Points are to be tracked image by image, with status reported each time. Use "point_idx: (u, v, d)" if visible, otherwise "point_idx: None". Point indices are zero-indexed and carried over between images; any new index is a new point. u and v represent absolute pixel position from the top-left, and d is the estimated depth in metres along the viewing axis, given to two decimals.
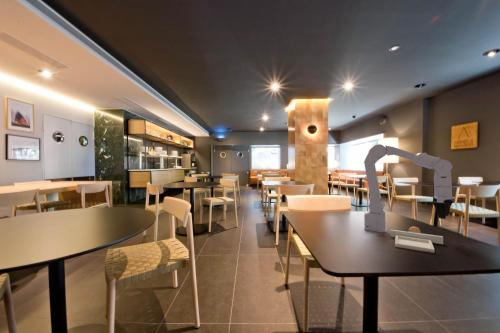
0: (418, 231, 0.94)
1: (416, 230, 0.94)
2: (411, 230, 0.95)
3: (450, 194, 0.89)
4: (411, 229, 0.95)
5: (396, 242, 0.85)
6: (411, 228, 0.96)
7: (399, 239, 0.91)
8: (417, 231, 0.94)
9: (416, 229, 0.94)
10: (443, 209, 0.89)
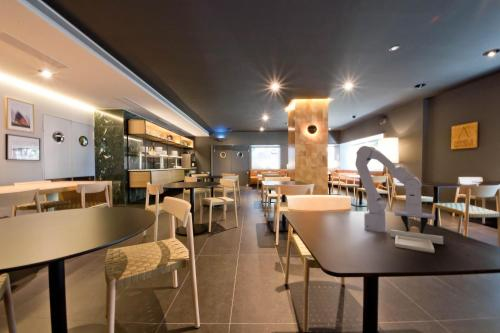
0: (418, 231, 0.94)
1: (416, 230, 0.94)
2: (411, 230, 0.95)
3: (411, 211, 0.95)
4: (411, 229, 0.95)
5: (396, 242, 0.85)
6: (411, 228, 0.96)
7: (399, 239, 0.91)
8: (417, 231, 0.94)
9: (416, 229, 0.94)
10: None
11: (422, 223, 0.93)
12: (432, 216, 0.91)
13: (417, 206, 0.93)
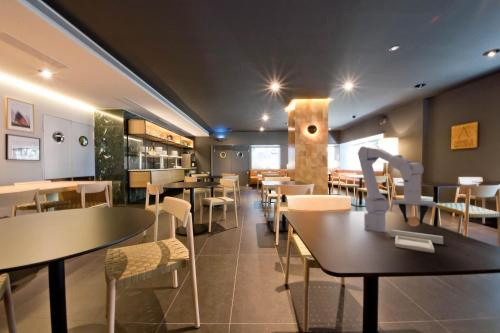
0: (417, 220, 0.86)
1: (415, 219, 0.86)
2: (410, 219, 0.87)
3: (409, 199, 0.87)
4: (410, 218, 0.87)
5: (396, 242, 0.85)
6: (410, 217, 0.88)
7: (399, 239, 0.91)
8: (416, 220, 0.86)
9: (415, 218, 0.86)
10: None
11: (422, 211, 0.84)
12: (432, 203, 0.83)
13: (416, 193, 0.85)
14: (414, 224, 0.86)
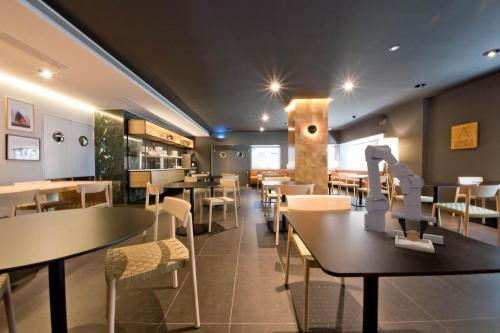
0: (417, 236, 0.83)
1: (415, 234, 0.83)
2: (409, 234, 0.85)
3: (409, 213, 0.84)
4: (409, 233, 0.85)
5: (396, 242, 0.85)
6: (409, 232, 0.85)
7: (399, 239, 0.91)
8: (416, 236, 0.83)
9: (415, 233, 0.84)
10: None
11: (422, 227, 0.82)
12: (433, 219, 0.81)
13: (416, 207, 0.83)
14: (414, 239, 0.84)
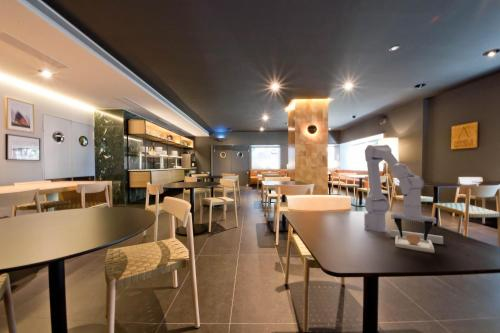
0: (417, 239, 0.83)
1: (415, 237, 0.83)
2: (409, 237, 0.85)
3: (409, 214, 0.84)
4: (409, 236, 0.85)
5: (396, 242, 0.85)
6: (409, 235, 0.85)
7: (399, 239, 0.91)
8: (416, 239, 0.83)
9: (415, 236, 0.84)
10: None
11: (426, 228, 0.81)
12: (433, 219, 0.81)
13: (416, 208, 0.83)
14: (414, 242, 0.84)
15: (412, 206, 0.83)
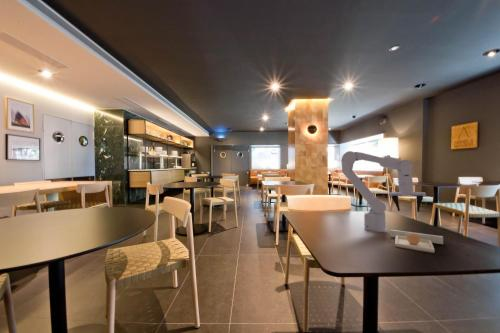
0: (417, 239, 0.83)
1: (415, 237, 0.83)
2: (409, 237, 0.85)
3: (403, 190, 1.02)
4: (409, 236, 0.85)
5: (396, 242, 0.85)
6: (409, 235, 0.85)
7: (399, 239, 0.91)
8: (416, 239, 0.83)
9: (415, 236, 0.84)
10: None
11: (418, 201, 0.98)
12: (423, 193, 0.98)
13: (408, 185, 1.00)
14: (414, 242, 0.84)
15: (405, 184, 1.01)
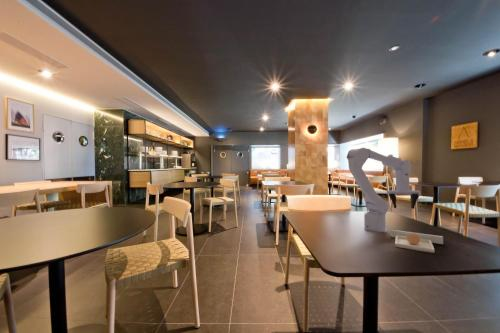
0: (417, 239, 0.83)
1: (415, 238, 0.83)
2: (409, 237, 0.85)
3: (401, 189, 1.07)
4: (409, 236, 0.85)
5: (396, 242, 0.85)
6: (409, 235, 0.85)
7: (399, 239, 0.91)
8: (416, 239, 0.83)
9: (415, 236, 0.84)
10: None
11: (414, 198, 1.05)
12: (418, 192, 1.05)
13: (406, 184, 1.06)
14: (414, 242, 0.84)
15: (404, 182, 1.06)
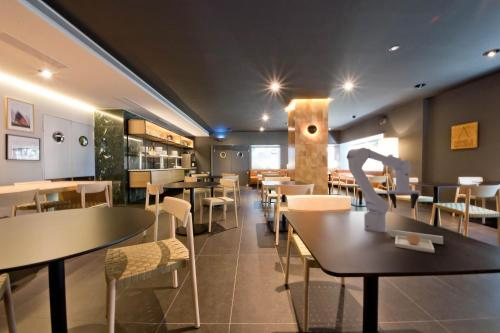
0: (417, 239, 0.83)
1: (415, 238, 0.83)
2: (409, 237, 0.85)
3: (401, 189, 1.07)
4: (409, 236, 0.85)
5: (396, 242, 0.85)
6: (409, 235, 0.85)
7: (399, 239, 0.91)
8: (416, 239, 0.83)
9: (415, 236, 0.84)
10: None
11: (414, 198, 1.05)
12: (418, 192, 1.05)
13: (406, 184, 1.06)
14: (414, 242, 0.84)
15: (404, 182, 1.06)
